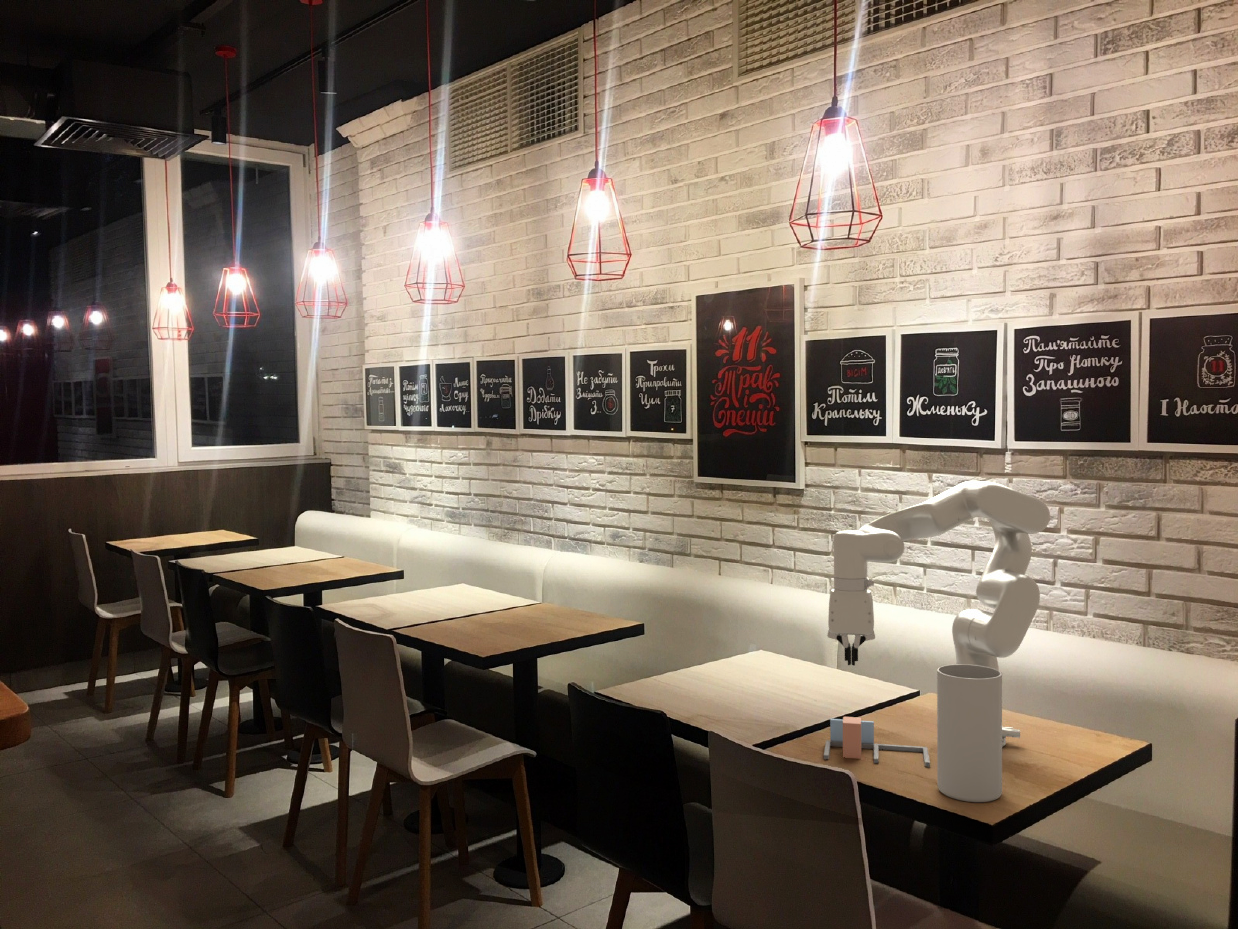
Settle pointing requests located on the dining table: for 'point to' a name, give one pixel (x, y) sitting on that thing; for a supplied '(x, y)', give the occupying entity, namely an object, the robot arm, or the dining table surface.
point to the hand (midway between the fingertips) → (851, 664)
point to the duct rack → (867, 741)
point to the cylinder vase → (969, 732)
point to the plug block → (852, 737)
